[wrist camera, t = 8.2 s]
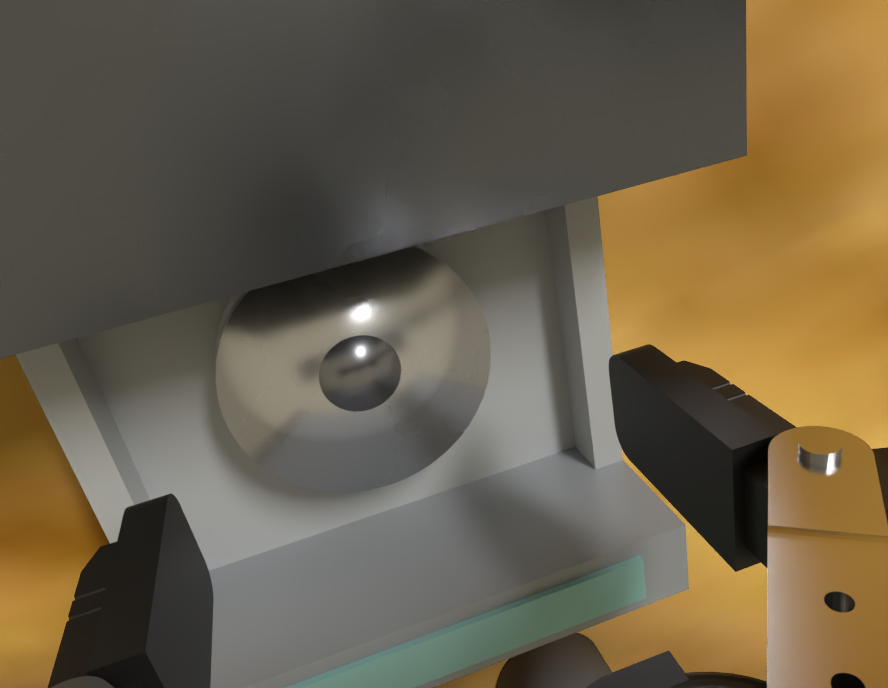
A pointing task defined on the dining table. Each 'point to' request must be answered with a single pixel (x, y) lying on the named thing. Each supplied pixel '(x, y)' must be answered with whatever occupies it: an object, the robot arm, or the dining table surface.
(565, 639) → the capsule
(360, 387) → the disc
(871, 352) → the dining table surface
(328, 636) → the tray
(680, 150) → the housing
